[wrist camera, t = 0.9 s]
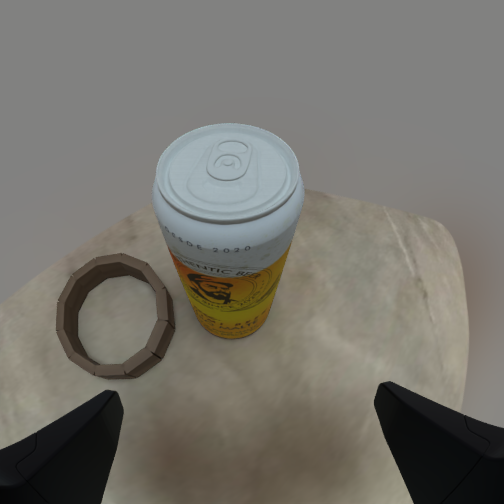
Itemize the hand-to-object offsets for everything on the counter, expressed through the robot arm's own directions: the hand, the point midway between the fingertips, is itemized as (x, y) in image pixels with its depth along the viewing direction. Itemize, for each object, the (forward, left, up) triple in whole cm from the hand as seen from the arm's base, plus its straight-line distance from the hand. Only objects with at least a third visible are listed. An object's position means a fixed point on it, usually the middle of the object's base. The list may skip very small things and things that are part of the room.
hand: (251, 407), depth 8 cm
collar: (+2, +12, -12) cm, 17 cm away
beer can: (+7, +4, -13) cm, 15 cm away
